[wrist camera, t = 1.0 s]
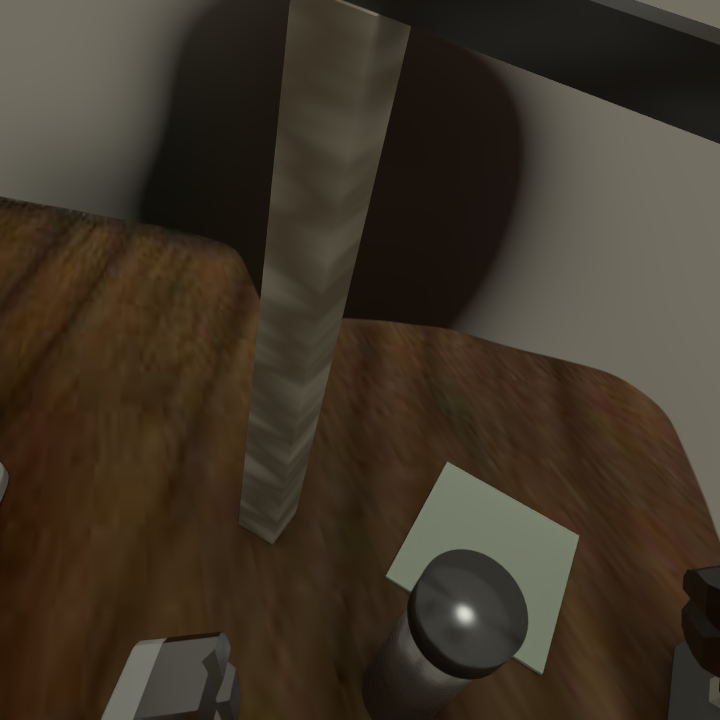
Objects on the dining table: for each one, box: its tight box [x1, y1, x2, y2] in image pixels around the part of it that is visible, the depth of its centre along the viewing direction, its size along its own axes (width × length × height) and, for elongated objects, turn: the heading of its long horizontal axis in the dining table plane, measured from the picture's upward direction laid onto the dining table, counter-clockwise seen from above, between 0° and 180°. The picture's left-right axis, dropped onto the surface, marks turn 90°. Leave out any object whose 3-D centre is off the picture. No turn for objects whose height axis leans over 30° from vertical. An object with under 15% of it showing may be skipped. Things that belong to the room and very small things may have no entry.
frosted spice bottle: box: [362, 549, 528, 720], centre depth 31 cm, size 5×5×14 cm
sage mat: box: [385, 462, 579, 675], centre depth 43 cm, size 12×12×1 cm
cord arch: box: [239, 0, 720, 545], centre depth 26 cm, size 36×3×36 cm, turn 61°
